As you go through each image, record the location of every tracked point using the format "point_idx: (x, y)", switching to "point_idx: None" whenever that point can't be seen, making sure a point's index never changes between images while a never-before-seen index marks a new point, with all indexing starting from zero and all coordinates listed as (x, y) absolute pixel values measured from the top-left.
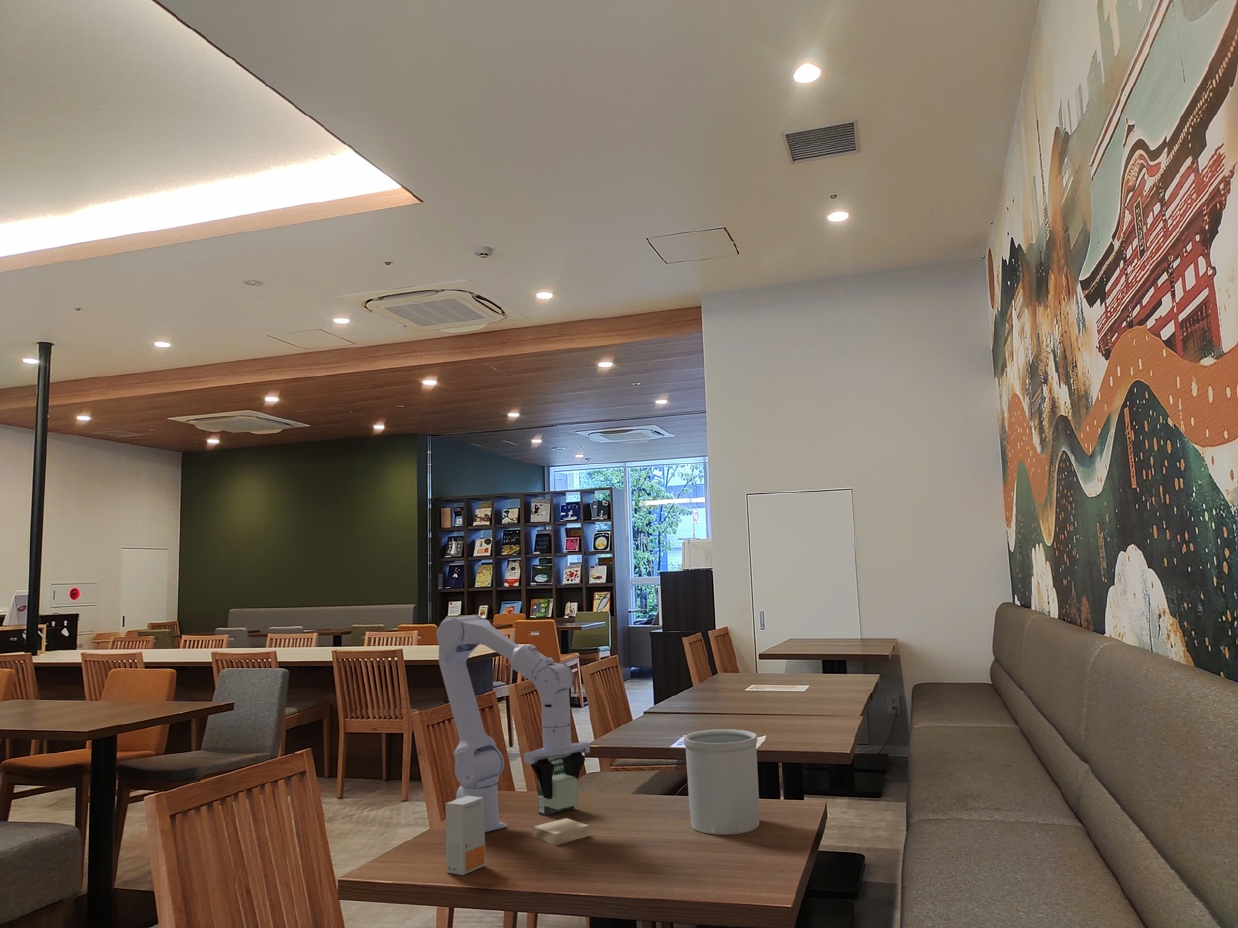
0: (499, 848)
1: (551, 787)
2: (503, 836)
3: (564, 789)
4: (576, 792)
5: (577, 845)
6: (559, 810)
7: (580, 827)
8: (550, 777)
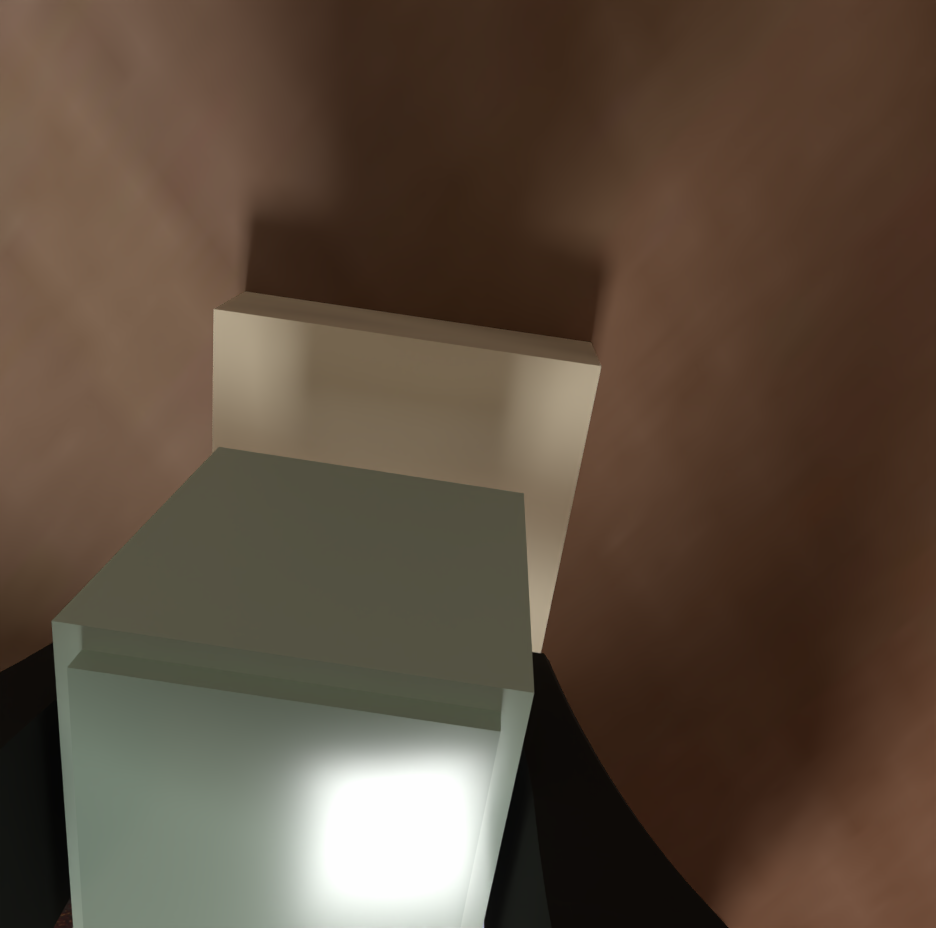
0: (861, 634)
1: (531, 730)
2: (631, 793)
3: (374, 586)
4: (178, 514)
5: (494, 170)
6: None
7: (310, 326)
8: (587, 850)
